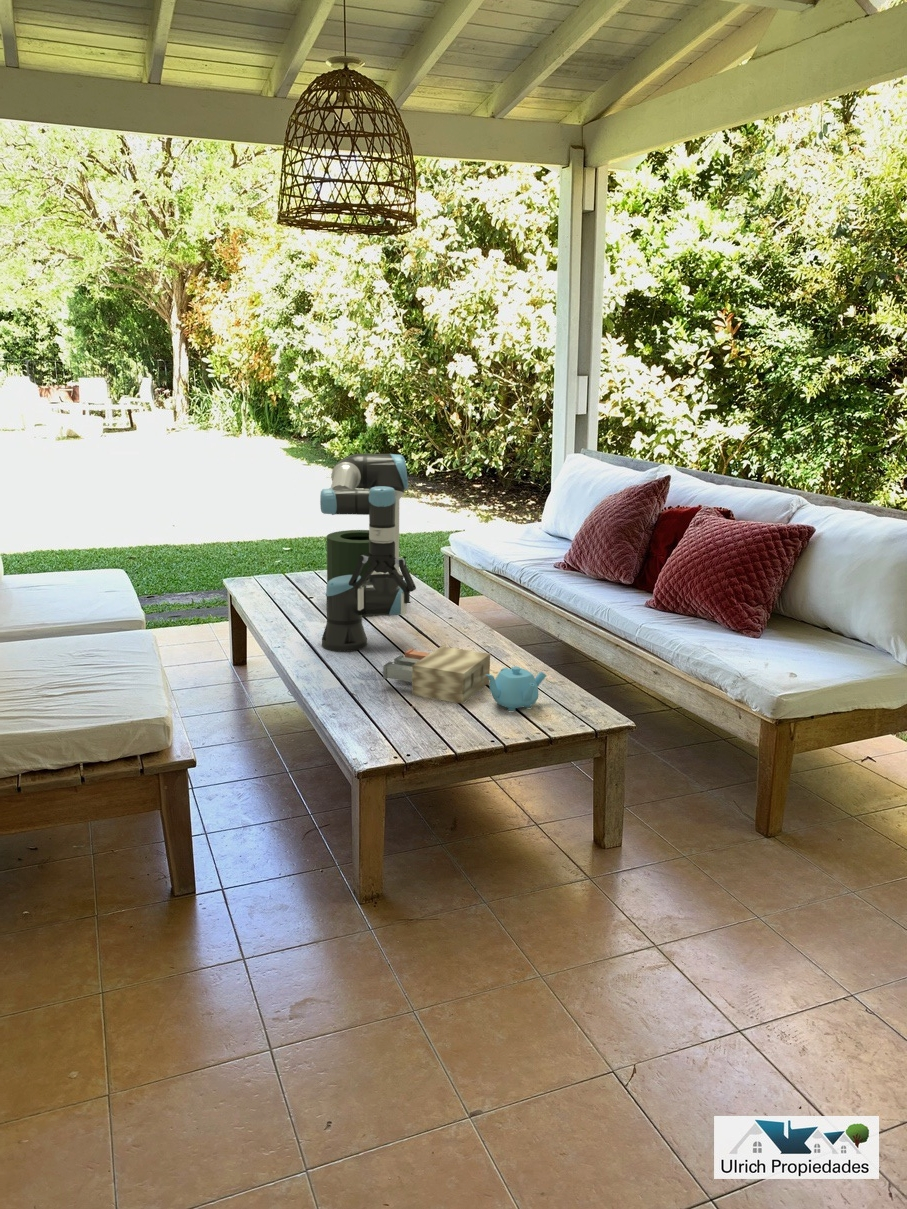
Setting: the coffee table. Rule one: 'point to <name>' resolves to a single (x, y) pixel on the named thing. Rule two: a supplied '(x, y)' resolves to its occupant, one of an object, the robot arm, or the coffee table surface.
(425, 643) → the coffee table surface
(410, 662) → the grey plug middle
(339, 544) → the flower pot
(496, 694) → the teapot
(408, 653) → the terracotta plug
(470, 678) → the socket block
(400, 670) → the grey plug near
